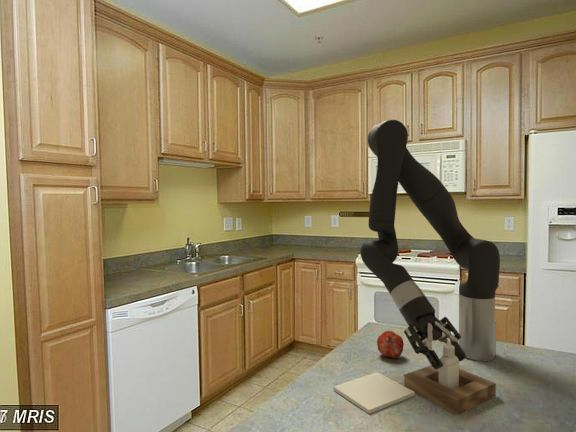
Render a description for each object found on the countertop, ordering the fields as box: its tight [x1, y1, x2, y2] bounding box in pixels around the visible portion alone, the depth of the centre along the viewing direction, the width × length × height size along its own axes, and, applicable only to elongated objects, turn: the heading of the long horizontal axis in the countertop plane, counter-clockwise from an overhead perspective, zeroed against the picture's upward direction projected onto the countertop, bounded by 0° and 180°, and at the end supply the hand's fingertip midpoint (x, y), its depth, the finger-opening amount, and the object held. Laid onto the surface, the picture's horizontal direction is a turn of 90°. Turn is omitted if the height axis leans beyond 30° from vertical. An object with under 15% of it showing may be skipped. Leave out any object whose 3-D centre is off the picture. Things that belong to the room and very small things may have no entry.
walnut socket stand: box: [403, 364, 497, 416], centre depth 88 cm, size 14×14×3 cm
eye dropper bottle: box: [439, 339, 460, 390], centre depth 88 cm, size 4×6×12 cm
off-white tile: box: [332, 372, 416, 415], centre depth 88 cm, size 14×12×1 cm
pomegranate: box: [376, 330, 405, 359], centre depth 109 cm, size 7×7×10 cm
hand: (451, 363), depth 87 cm, fingers open, 8 cm apart
